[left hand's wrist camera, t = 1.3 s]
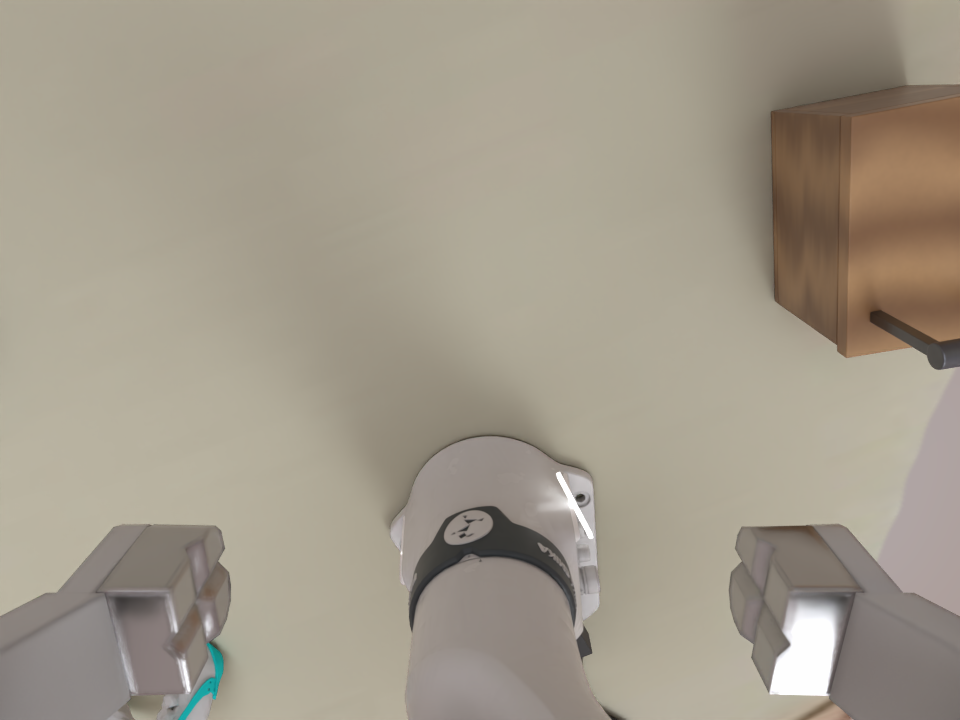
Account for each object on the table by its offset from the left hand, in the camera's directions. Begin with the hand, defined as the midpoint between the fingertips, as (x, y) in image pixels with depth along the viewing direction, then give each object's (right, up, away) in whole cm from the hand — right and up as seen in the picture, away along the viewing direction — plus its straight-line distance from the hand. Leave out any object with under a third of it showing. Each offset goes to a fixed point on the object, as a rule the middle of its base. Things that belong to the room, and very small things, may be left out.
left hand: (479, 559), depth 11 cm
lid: (+27, +11, +30) cm, 42 cm away
